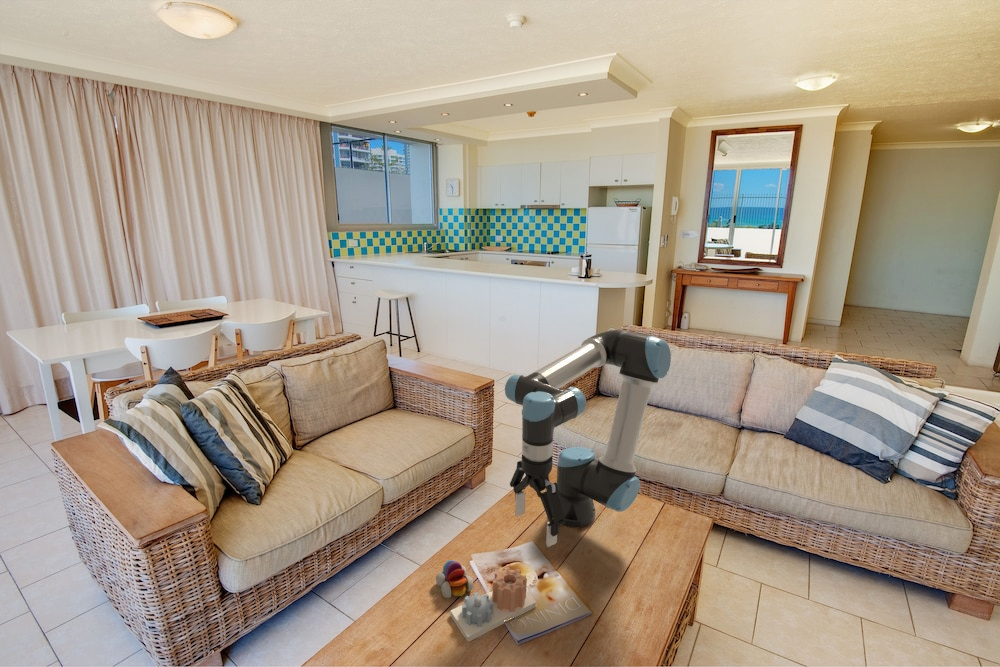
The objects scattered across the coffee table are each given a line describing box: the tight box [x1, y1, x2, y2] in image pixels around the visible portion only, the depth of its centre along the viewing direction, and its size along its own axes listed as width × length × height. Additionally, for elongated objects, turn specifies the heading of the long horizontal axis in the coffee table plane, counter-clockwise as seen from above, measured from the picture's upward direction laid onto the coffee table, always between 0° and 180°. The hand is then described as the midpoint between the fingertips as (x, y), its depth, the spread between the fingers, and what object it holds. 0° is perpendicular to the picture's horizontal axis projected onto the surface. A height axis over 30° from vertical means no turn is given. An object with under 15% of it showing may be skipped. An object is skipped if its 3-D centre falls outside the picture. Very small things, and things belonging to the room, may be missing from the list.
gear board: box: [449, 581, 537, 643], centre depth 120 cm, size 9×20×6 cm, turn 123°
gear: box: [492, 566, 528, 612], centre depth 122 cm, size 8×8×6 cm
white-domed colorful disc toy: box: [435, 559, 474, 599], centre depth 128 cm, size 8×10×7 cm
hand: (535, 528), depth 122 cm, fingers open, 13 cm apart
